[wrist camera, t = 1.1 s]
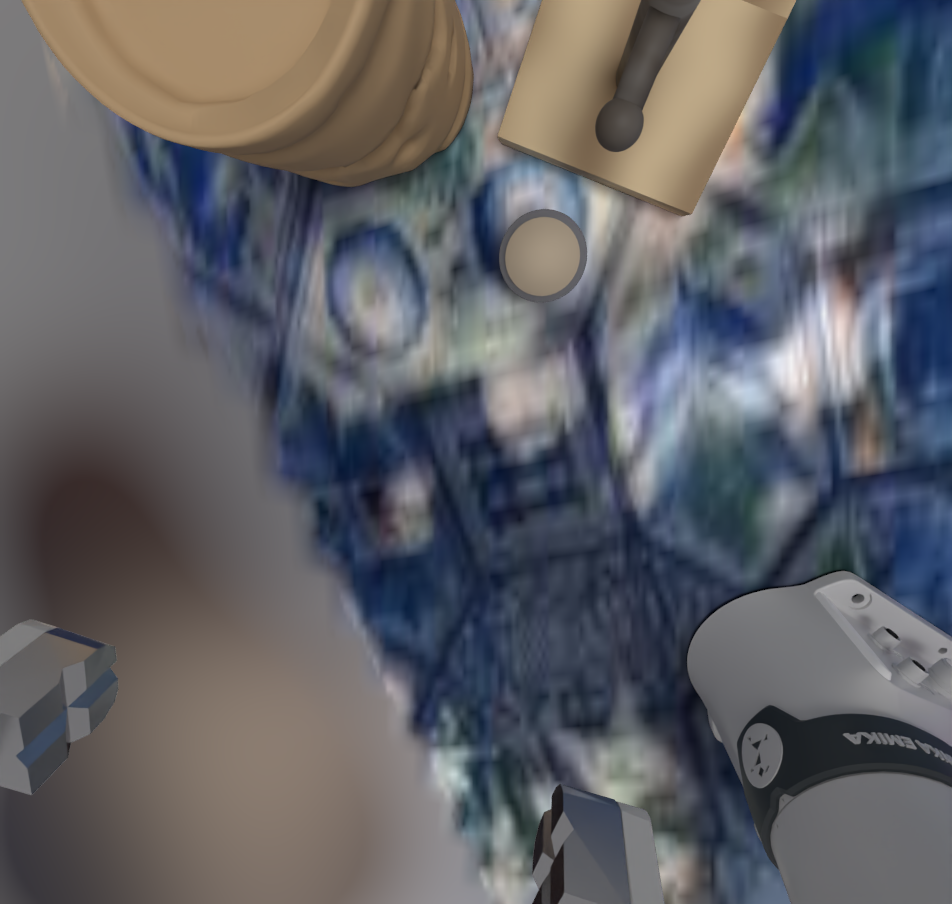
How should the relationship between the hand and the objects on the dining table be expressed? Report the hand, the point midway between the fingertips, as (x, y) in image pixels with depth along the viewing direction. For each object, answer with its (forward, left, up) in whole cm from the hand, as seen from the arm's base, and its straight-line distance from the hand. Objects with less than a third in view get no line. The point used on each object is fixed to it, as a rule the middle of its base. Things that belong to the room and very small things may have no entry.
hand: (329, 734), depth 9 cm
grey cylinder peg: (0, -8, -31) cm, 32 cm away
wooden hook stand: (-1, -21, -31) cm, 37 cm away
